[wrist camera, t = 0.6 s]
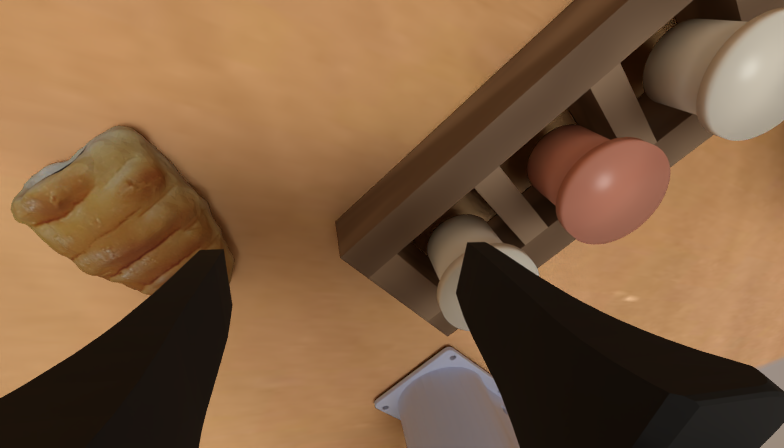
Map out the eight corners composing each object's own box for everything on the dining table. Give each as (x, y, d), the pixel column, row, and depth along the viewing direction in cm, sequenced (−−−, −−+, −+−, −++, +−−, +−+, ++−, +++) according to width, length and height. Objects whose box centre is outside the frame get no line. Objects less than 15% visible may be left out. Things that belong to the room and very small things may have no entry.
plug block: (731, 58, 21) (800, 68, 18) (431, 297, 26) (447, 336, 23) (686, -104, 17) (767, -125, 14) (335, 221, 22) (340, 257, 19)
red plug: (618, 159, 19) (683, 194, 16) (544, 217, 21) (591, 261, 17) (581, 92, 17) (648, 116, 14) (500, 162, 18) (544, 200, 15)
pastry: (269, 245, 22) (262, 289, 19) (177, 303, 23) (156, 354, 20) (127, 106, 17) (84, 133, 14) (18, 187, 18) (-47, 230, 15)
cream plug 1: (516, 240, 21) (556, 287, 18) (451, 291, 22) (478, 345, 19) (469, 188, 19) (505, 231, 15) (400, 248, 20) (419, 300, 16)
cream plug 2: (737, 65, 18) (836, 81, 15) (651, 133, 19) (725, 163, 16) (713, -22, 16) (824, -26, 12) (617, 61, 17) (696, 78, 13)
